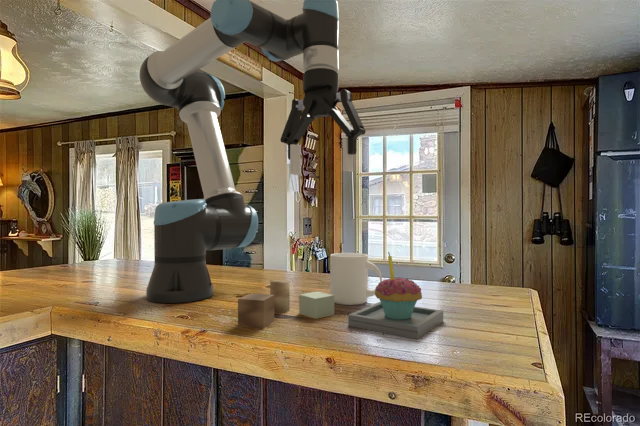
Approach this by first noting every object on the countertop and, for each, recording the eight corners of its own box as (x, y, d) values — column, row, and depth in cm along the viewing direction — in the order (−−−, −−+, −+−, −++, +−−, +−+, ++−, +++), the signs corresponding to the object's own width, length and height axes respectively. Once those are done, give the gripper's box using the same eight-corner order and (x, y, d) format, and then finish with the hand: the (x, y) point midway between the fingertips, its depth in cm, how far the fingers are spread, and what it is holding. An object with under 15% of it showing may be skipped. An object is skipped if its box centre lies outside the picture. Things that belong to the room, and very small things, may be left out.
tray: (348, 325, 72) (348, 314, 72) (380, 311, 82) (380, 301, 82) (417, 339, 64) (417, 326, 64) (443, 321, 75) (443, 310, 75)
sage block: (299, 314, 80) (299, 294, 80) (318, 310, 84) (318, 291, 84) (315, 319, 77) (315, 298, 76) (334, 315, 80) (334, 295, 80)
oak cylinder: (266, 310, 83) (266, 281, 82) (278, 307, 86) (278, 279, 86) (280, 313, 80) (281, 283, 80) (293, 309, 84) (293, 281, 83)
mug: (376, 308, 85) (377, 258, 85) (324, 303, 89) (324, 255, 89) (386, 300, 93) (386, 254, 93) (337, 296, 97) (337, 252, 97)
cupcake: (391, 324, 68) (391, 254, 68) (366, 313, 76) (366, 250, 76) (431, 319, 72) (431, 252, 72) (403, 308, 79) (403, 248, 79)
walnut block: (237, 326, 71) (237, 298, 71) (249, 319, 76) (249, 293, 76) (263, 328, 70) (263, 300, 70) (274, 321, 75) (274, 294, 75)
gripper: (265, 78, 88) (264, 174, 88) (364, 53, 74) (363, 167, 74) (286, 87, 95) (286, 177, 95) (382, 65, 80) (381, 171, 80)
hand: (320, 173), depth 84 cm, fingers open, 13 cm apart
